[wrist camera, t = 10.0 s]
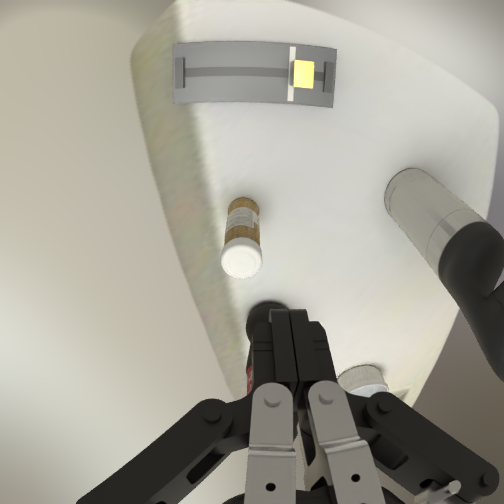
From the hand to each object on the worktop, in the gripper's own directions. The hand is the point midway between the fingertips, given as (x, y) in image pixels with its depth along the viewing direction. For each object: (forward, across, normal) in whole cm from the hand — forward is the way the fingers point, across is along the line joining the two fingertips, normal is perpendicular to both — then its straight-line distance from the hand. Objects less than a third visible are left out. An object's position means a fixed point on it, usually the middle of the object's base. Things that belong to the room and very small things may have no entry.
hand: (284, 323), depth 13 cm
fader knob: (+30, -4, -10) cm, 32 cm away
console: (+32, +1, -10) cm, 34 cm away
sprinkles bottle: (+32, +2, +10) cm, 34 cm away
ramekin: (+32, -27, +54) cm, 68 cm away
